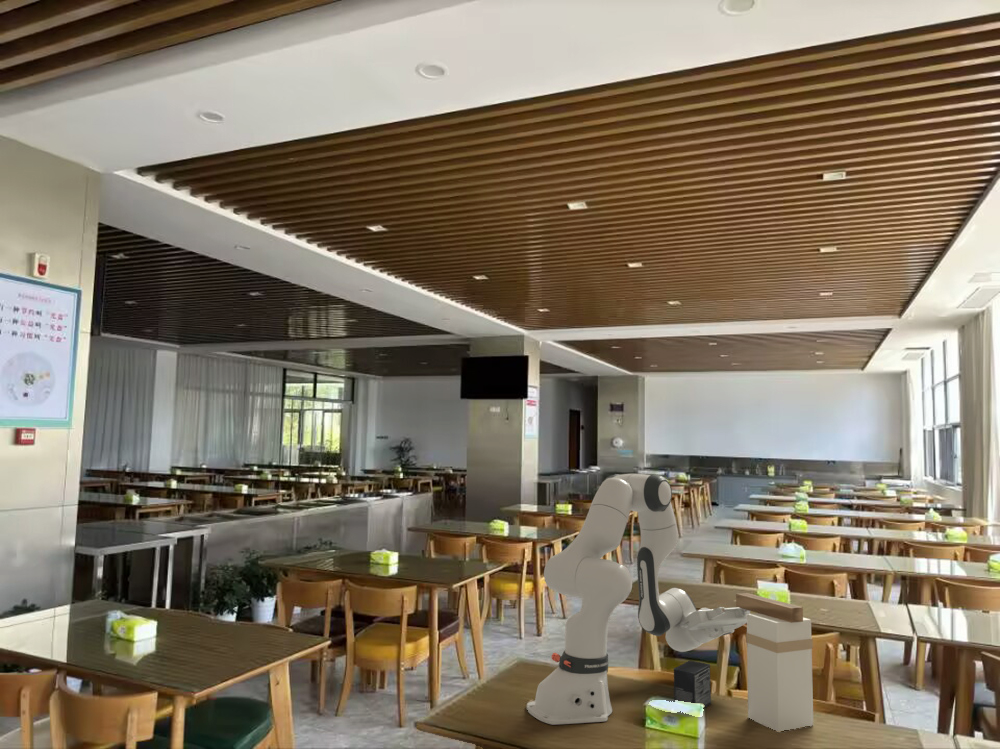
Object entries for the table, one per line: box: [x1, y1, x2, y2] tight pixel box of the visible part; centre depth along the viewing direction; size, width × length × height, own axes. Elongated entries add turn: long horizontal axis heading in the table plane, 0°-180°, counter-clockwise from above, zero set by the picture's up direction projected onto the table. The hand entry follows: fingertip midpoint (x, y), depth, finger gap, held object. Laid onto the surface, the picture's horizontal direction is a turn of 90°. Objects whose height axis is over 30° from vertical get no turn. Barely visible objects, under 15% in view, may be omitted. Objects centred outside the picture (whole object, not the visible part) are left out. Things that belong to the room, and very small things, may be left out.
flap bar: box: [735, 592, 804, 623], centre depth 182 cm, size 4×19×4 cm, turn 25°
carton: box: [745, 612, 814, 733], centre depth 177 cm, size 12×10×26 cm
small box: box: [673, 660, 712, 708], centre depth 186 cm, size 11×6×10 cm, turn 141°
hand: (735, 608), depth 192 cm, fingers open, 8 cm apart
